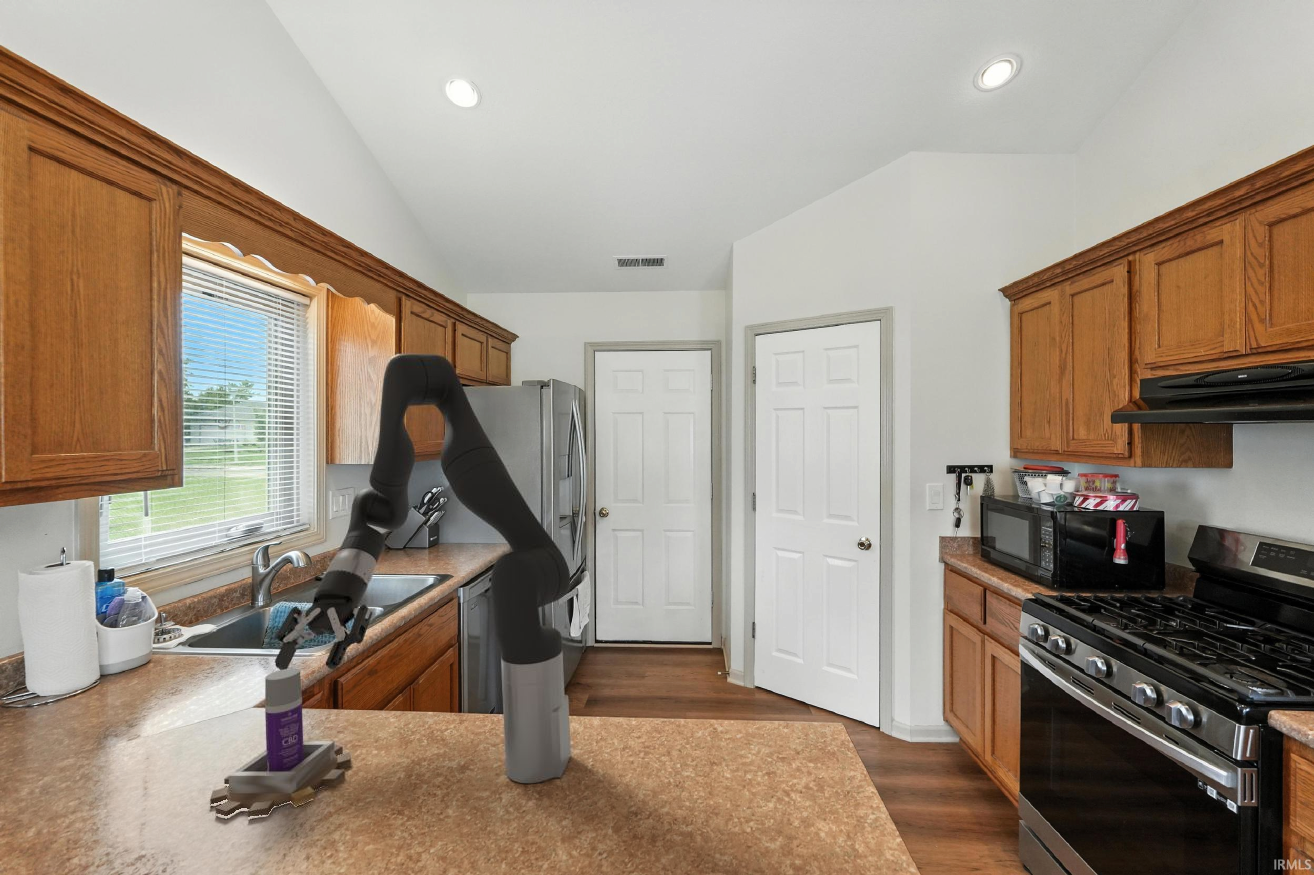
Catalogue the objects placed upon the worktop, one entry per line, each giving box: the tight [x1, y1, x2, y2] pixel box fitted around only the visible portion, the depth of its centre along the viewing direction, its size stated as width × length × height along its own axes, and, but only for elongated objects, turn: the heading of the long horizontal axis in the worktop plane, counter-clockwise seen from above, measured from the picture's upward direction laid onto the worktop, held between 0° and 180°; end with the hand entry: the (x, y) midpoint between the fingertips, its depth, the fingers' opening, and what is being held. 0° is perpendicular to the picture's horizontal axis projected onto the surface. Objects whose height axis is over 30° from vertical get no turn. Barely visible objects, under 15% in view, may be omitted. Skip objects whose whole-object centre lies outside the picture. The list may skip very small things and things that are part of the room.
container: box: [264, 668, 304, 772], centre depth 86 cm, size 5×5×15 cm
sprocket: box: [209, 740, 352, 818], centre depth 86 cm, size 18×18×4 cm
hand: (305, 667), depth 91 cm, fingers open, 8 cm apart
